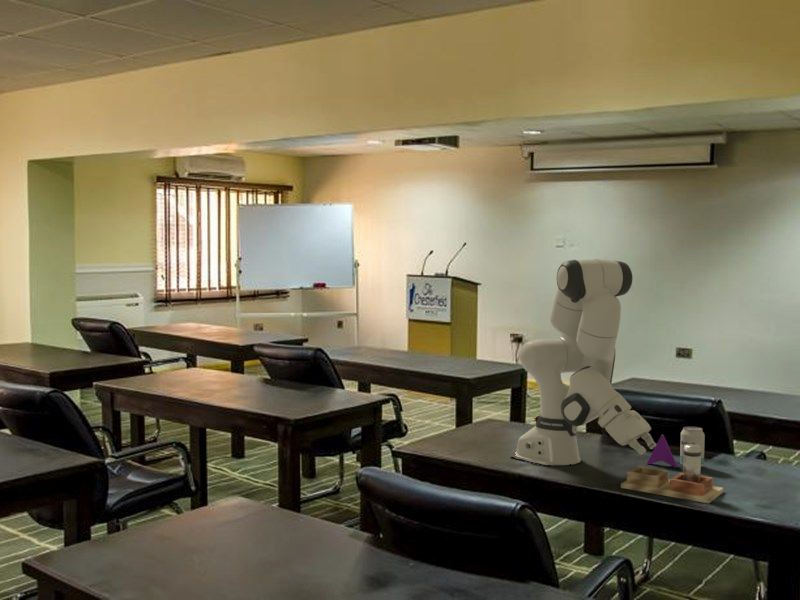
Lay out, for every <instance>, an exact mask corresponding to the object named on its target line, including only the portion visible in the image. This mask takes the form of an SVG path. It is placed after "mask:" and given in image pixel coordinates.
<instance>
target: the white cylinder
mask: <svg viewBox="0 0 800 600" xmlns="http://www.w3.org/2000/svg"><path fill="white" fill-rule="evenodd" d="M701 452H702V451H701V446H700V445H696V444H685V445H684V450H683V454H684V463H683V465H682V467H683V470H682V473H683V480H684V481H690V482H696V483H700V476H701V471H702V470H701V468H702V467H701Z"/></svg>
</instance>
